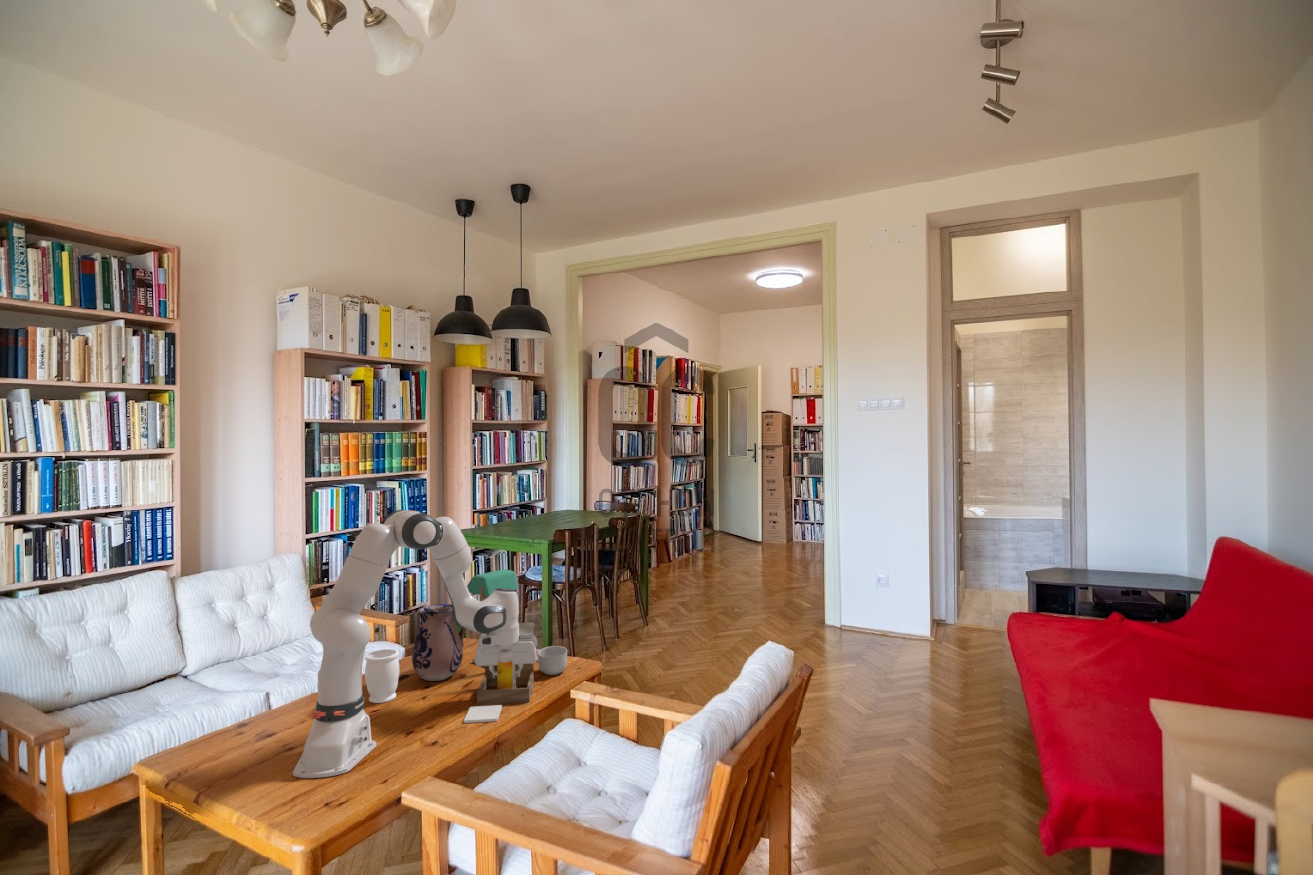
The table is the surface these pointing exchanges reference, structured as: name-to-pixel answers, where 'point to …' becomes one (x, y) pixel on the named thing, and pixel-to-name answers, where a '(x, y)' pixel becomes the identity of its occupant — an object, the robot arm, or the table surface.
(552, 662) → the teacup
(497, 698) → the box
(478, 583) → the banker's lamp
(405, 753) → the table surface
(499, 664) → the beer can
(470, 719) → the stone tile
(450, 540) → the robot arm
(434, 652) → the ceramic pitcher
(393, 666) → the jar
